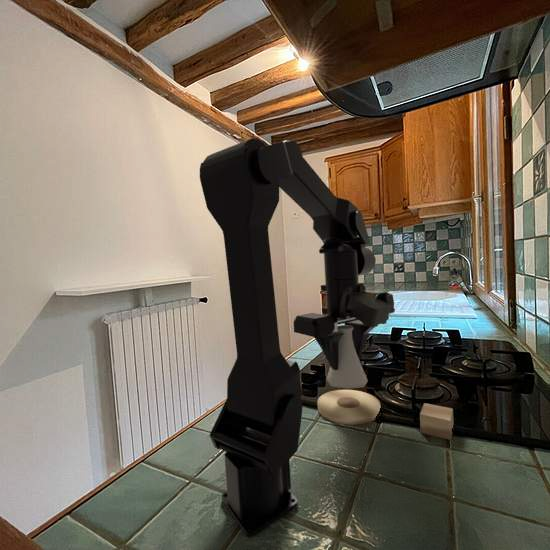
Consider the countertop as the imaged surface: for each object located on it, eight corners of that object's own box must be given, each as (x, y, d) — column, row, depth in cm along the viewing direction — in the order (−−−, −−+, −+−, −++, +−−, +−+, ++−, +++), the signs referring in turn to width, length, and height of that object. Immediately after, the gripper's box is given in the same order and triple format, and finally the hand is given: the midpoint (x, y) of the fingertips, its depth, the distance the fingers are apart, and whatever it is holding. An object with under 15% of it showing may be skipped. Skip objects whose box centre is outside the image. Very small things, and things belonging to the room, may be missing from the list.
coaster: (351, 432, 47) (351, 425, 47) (305, 407, 56) (304, 401, 56) (393, 409, 53) (393, 403, 53) (345, 389, 62) (345, 384, 62)
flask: (369, 391, 50) (367, 331, 49) (325, 389, 51) (322, 331, 51) (366, 374, 57) (363, 322, 56) (327, 374, 58) (324, 322, 58)
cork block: (451, 441, 43) (450, 420, 43) (420, 433, 46) (419, 414, 46) (453, 427, 47) (452, 408, 46) (425, 421, 49) (424, 403, 49)
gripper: (338, 284, 41) (344, 396, 42) (414, 275, 52) (417, 364, 53) (289, 282, 50) (294, 374, 51) (361, 275, 61) (365, 351, 62)
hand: (345, 365), depth 54 cm, fingers closed on flask, 5 cm apart
